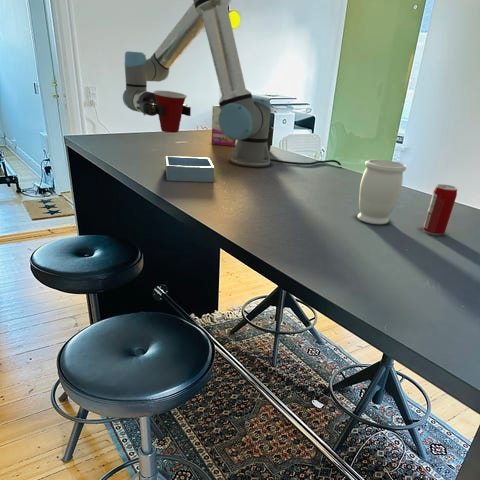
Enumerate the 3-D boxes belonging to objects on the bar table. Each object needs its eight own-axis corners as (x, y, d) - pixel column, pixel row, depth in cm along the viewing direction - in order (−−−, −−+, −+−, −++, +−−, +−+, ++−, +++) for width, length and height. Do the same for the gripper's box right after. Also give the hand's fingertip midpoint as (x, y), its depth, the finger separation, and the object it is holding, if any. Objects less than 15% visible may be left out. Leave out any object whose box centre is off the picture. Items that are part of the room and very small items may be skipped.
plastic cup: (170, 135, 144) (170, 94, 138) (147, 130, 150) (146, 90, 144) (193, 132, 152) (193, 93, 146) (170, 128, 157) (170, 90, 151)
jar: (385, 229, 115) (400, 169, 107) (348, 220, 119) (359, 162, 112) (396, 219, 123) (411, 163, 115) (360, 211, 127) (372, 157, 120)
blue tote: (208, 171, 157) (209, 158, 154) (213, 182, 144) (214, 167, 142) (165, 169, 154) (165, 156, 152) (167, 180, 141) (166, 165, 139)
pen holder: (251, 148, 204) (253, 124, 199) (271, 150, 203) (273, 126, 198) (248, 151, 196) (250, 127, 191) (269, 153, 195) (272, 129, 190)
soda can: (448, 235, 114) (464, 188, 108) (431, 236, 113) (445, 188, 107) (435, 228, 119) (449, 182, 113) (417, 228, 117) (431, 182, 111)
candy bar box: (236, 145, 209) (239, 106, 200) (234, 146, 204) (237, 107, 196) (213, 142, 210) (214, 104, 201) (211, 144, 206) (212, 105, 197)
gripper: (174, 114, 167) (204, 123, 152) (119, 114, 156) (146, 124, 141) (174, 92, 163) (205, 99, 148) (118, 90, 152) (145, 97, 137)
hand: (176, 111), depth 144 cm, fingers closed on plastic cup, 9 cm apart
